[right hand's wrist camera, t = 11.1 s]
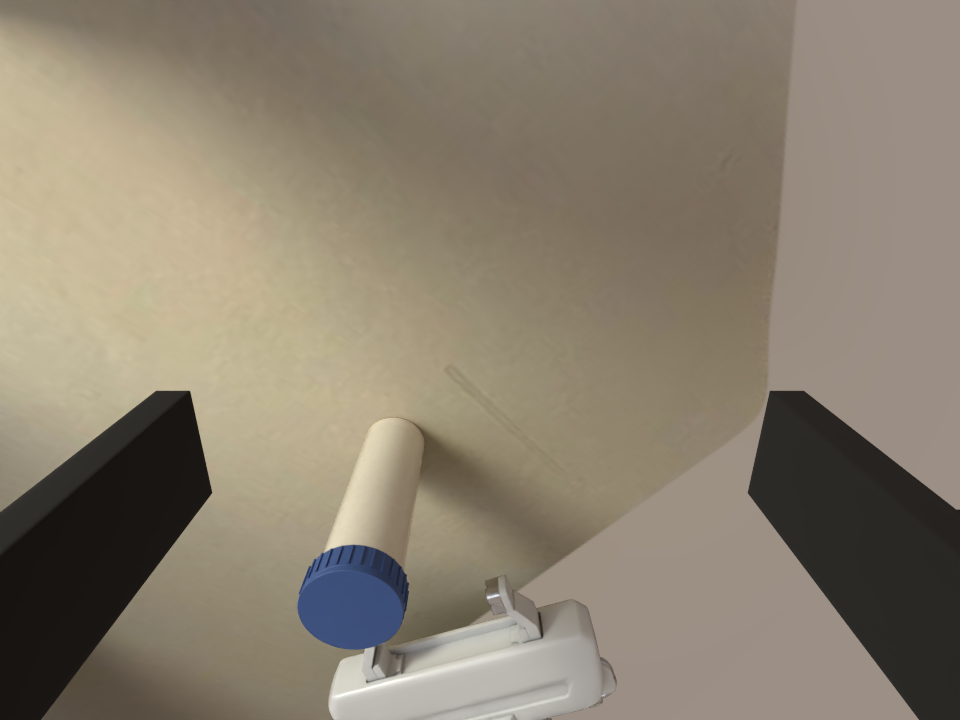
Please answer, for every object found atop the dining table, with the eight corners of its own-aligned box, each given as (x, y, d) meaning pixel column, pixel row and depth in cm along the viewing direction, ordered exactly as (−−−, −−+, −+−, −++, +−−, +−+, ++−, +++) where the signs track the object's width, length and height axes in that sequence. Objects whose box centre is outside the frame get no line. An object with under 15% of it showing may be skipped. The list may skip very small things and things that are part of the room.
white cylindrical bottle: (354, 430, 40) (289, 587, 26) (407, 408, 40) (370, 557, 26) (383, 476, 42) (336, 647, 28) (434, 455, 41) (413, 620, 27)
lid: (286, 564, 28) (274, 591, 26) (378, 528, 27) (371, 554, 25) (339, 633, 29) (331, 663, 28) (426, 602, 29) (423, 631, 27)
